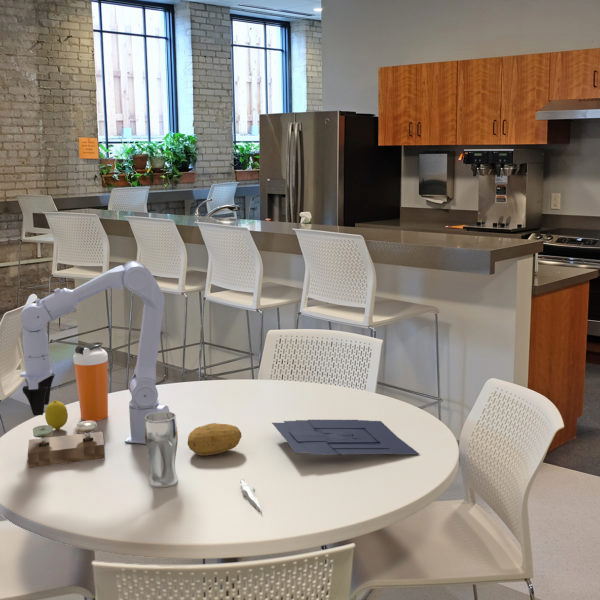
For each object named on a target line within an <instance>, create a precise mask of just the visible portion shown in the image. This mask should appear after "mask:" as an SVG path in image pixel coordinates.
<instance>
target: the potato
mask: <svg viewBox="0 0 600 600" xmlns="http://www.w3.org/2000/svg"><path fill="white" fill-rule="evenodd" d="M187 436H188V437H187V446H188V448H189V450H190V451H192V452H193V453H194V454H196V455H199V456H210V455H211V456H212V455H217V454H222V453H225V452H228V451H231V450H233V449H234V448H236V447H237V446H238V444H240V441H241V439H242V432H241V430H240V428H239V427H237V426H236V425H232V424H227V423H216V422H213V423H208V424H205V425H202V426H198V427H195V428H194V429H193V430H192V431H191V432H189V434H188V435H187Z"/></svg>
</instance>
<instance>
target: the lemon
mask: <svg viewBox="0 0 600 600" xmlns="http://www.w3.org/2000/svg"><path fill="white" fill-rule="evenodd" d="M68 415H69V414H68V409H67V407H66V405H65V404H64V403H63V402H61V401H58V400H57V399H56V400H55V399H54V400H53V401H51V402H49V404H48V405H46V408H45V412H44V416H45V422H46V425H50V426H52V427H53V429H55V430H56V431H59V430H60V429H61V428H63V427H64V426H65V425H66V424H67V422H68Z"/></svg>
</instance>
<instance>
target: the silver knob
mask: <svg viewBox="0 0 600 600" xmlns="http://www.w3.org/2000/svg"><path fill="white" fill-rule="evenodd" d="M76 427H77V432H79V433H81V434H85V441H86V442H88V441H91V437H90V433H93V432H95V431H96V430H97V429H98V425H97V421H90V420H89V421H85V420H82V421H80V422H78V423H77V426H76Z"/></svg>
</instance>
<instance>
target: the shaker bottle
mask: <svg viewBox="0 0 600 600" xmlns="http://www.w3.org/2000/svg"><path fill="white" fill-rule="evenodd" d="M102 345H104V343H103V342H96V341H95V342H91V343H86V344H85V345H77V346H75V347H74V355H73V356H72V359H73V364H74V370H75V379H76V387H77V393H78V394H77V395H78V402H79V411H80V418H81V420H82V421H85V420H86V421H89V420H90V421H95V422H97V421H102V420H104V419H106V418H108V416H109V399H108V398H109V397H108V392H109V391H108V390H109V389H108V388H109V387H108V385H109V384H108V383H109V382H108V381H109V380H108V361H109V358H108V357H109V356H108V352H107V351H106V350H105V349H103V348H102Z"/></svg>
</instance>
